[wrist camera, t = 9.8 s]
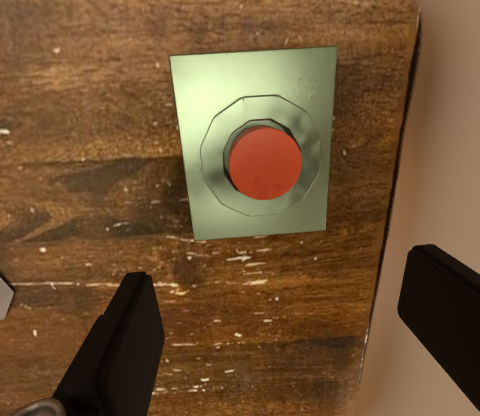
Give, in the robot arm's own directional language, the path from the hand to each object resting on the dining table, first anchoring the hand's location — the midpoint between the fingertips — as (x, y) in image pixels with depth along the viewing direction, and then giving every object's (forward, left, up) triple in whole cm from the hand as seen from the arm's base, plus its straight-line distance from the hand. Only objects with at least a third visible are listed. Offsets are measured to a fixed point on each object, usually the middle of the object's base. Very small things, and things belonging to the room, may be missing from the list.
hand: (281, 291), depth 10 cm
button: (+3, -1, -7) cm, 8 cm away
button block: (+3, -1, -10) cm, 11 cm away
